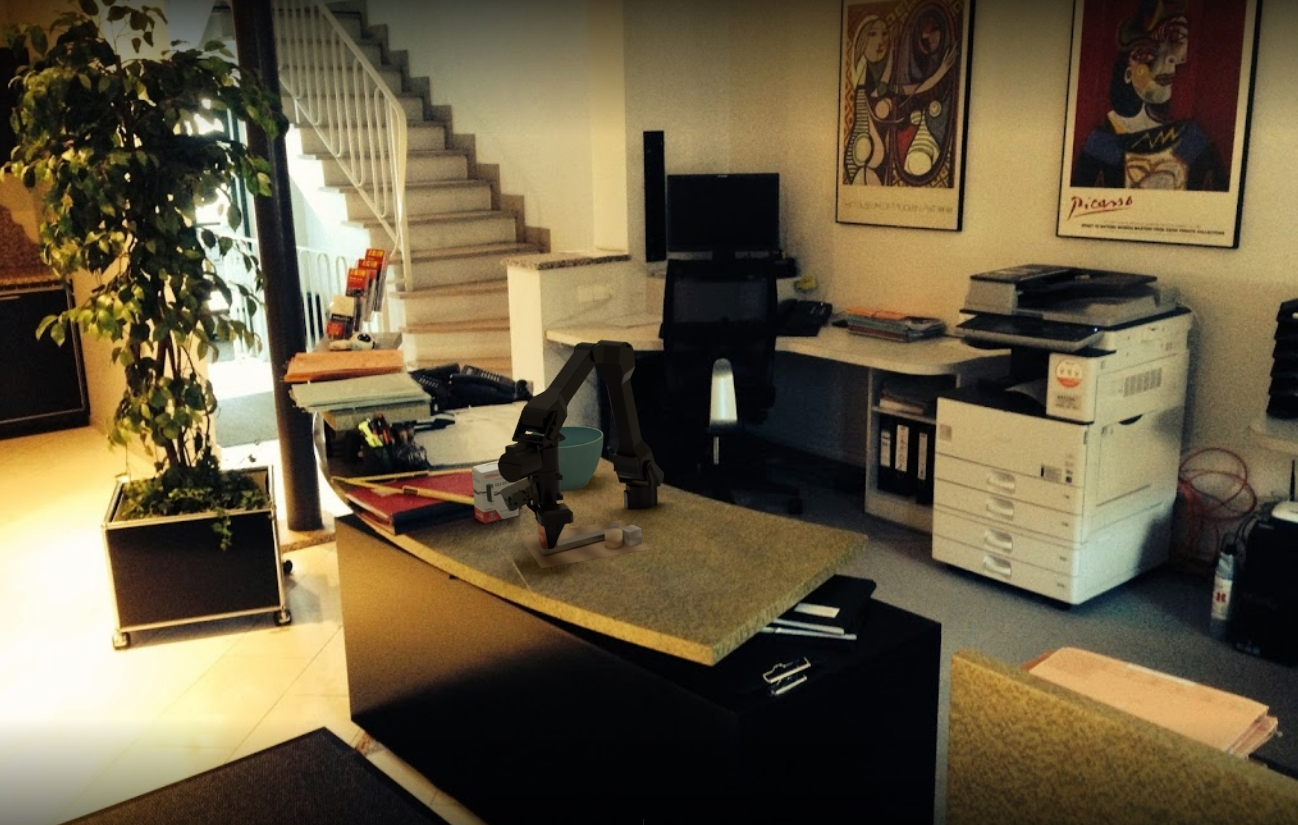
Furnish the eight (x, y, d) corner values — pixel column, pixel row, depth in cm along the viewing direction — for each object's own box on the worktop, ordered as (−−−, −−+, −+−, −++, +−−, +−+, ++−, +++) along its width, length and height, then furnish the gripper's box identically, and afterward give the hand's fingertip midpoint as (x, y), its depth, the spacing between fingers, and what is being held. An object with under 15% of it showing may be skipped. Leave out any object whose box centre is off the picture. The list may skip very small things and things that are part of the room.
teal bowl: (512, 491, 259) (508, 441, 255) (561, 469, 273) (558, 421, 270) (573, 504, 248) (569, 451, 245) (621, 480, 263) (618, 431, 260)
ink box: (484, 524, 238) (480, 471, 235) (474, 518, 242) (470, 466, 239) (520, 515, 243) (516, 463, 240) (510, 509, 247) (506, 458, 244)
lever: (604, 533, 226) (602, 497, 224) (612, 538, 223) (610, 502, 221) (536, 550, 218) (534, 513, 216) (544, 556, 215) (542, 518, 213)
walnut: (619, 541, 222) (619, 527, 221) (625, 547, 219) (624, 533, 218) (603, 544, 221) (602, 530, 220) (608, 550, 218) (607, 535, 217)
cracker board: (622, 525, 234) (621, 506, 233) (650, 554, 218) (649, 534, 217) (519, 542, 227) (518, 522, 226) (541, 573, 211) (540, 553, 210)
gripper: (493, 457, 218) (497, 531, 222) (513, 488, 201) (516, 567, 205) (548, 451, 221) (551, 524, 226) (572, 480, 204) (575, 559, 209)
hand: (547, 543), depth 216 cm, fingers open, 5 cm apart
